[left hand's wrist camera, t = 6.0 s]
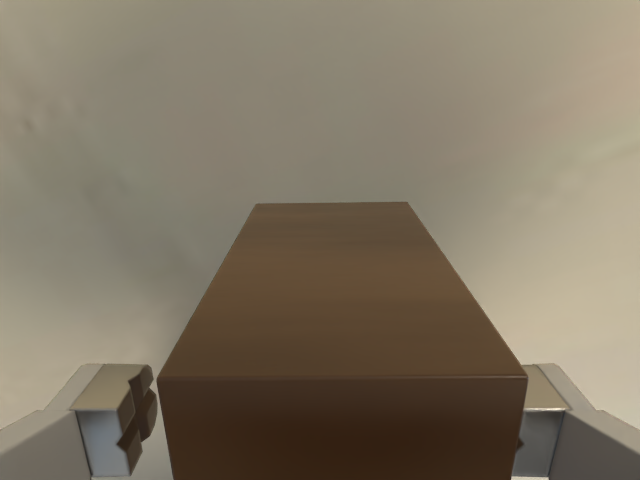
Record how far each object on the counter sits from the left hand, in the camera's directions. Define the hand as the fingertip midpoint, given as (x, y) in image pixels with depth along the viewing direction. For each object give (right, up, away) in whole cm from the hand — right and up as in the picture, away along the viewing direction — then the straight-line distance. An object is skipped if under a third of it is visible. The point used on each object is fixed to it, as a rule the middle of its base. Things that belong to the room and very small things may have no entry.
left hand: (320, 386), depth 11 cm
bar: (+1, -6, +8) cm, 10 cm away
